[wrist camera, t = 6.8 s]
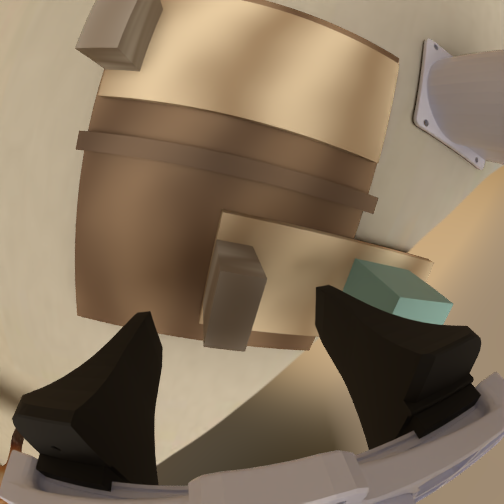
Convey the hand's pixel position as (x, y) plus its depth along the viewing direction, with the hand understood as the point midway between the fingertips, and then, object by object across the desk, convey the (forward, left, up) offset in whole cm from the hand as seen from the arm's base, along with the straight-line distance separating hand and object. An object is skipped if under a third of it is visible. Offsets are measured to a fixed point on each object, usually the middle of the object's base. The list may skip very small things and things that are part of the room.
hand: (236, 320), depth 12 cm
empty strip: (+1, -12, -5) cm, 13 cm away
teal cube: (-10, 0, -5) cm, 11 cm away
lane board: (+1, -5, -6) cm, 8 cm away
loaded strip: (-7, 0, -5) cm, 9 cm away
